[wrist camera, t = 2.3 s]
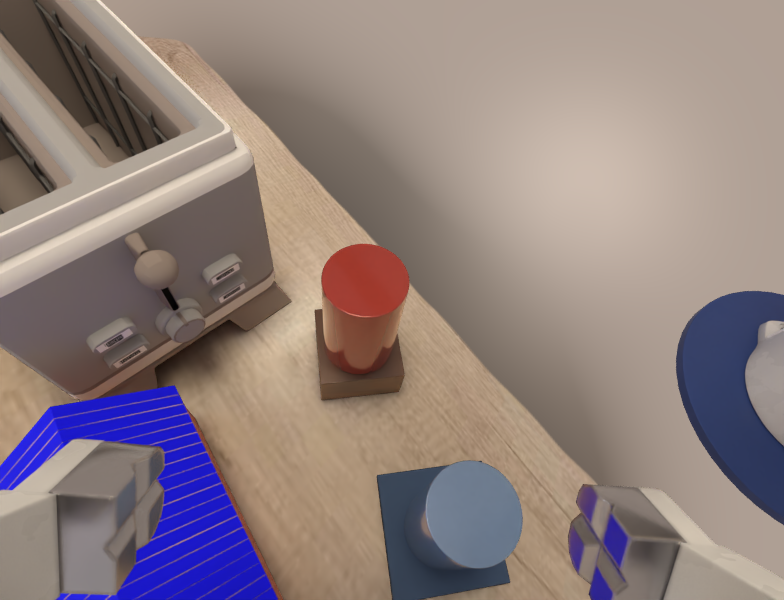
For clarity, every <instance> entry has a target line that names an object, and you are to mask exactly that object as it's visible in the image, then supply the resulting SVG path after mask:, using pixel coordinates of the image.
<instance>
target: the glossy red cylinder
mask: <svg viewBox="0 0 784 600" xmlns="http://www.w3.org/2000/svg"><path fill="white" fill-rule="evenodd" d="M321 283H322V315H323V345H324V350H325V353H326V355H327V357H328V358H329V360H330V361H331V362H332V363H333V364H334V365H335V366H336V367H337V368H339V369H341V370H343V371H345V372H348V373H352V374H365V373H370V372H373V371H375V370H377V369H379V368H380V367H381V366H383V365H384V364H385V363H386V362H387V360H388V359H389V357H390V355H391V353H392V349H393V346H394V342H395V338H396V335H397V331H398V327H399V323H400V320H401V316H402V312H403V309H404V305H405V301H406V298H407V294H408V290H409V276H408V272H407V270H406V267H405V266H404V264H403V263H402V261H401V260H400V259H399V258H398V257H397V256H396V255H395V254H393V253H392V252H390V251H389V250H387V249H385V248H382V247H380V246H376V245H372V244H355V245H351V246H348V247H345V248H343V249H341V250H339V251H337V252H336V253H335V254H333V255H332V256H331V257H330V259H329V260H328V261H327V263H326V264H325V266H324V268H323V272H322V277H321Z"/></svg>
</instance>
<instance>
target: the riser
mask: <svg viewBox="0 0 784 600" xmlns="http://www.w3.org/2000/svg"><path fill="white" fill-rule="evenodd" d="M315 323H316V337H317V350H318V363H319V375H320V388H321V400H327V399H336V398H345V397H354V396H363V395H372V394H382V393H391V392H399V389H400V387H401V384H402V381H403V379H404V376H405V375H404V369H403V363H402V357H401V352H400V346H399V340H398V334H397V335H396V338H395V342H394V346H393V349H392V353H391V355H390V357H389V359H388V360H387V362H386V363H385V364H384V365H383V366H381V367H380V368H379V369H377V370H375V371H373V372H370V373H365V374H352V373H348V372H345V371H343V370H341V369H339V368H337V367H336V366H335V365H334V364H333V363H332V362H331V361H330V360H329V358H328V357H327V355H326V353H325V350H324V345H323V315H322V309H319V310H315Z"/></svg>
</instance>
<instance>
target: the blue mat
mask: <svg viewBox="0 0 784 600" xmlns="http://www.w3.org/2000/svg"><path fill="white" fill-rule="evenodd" d="M478 462H482V461H478ZM448 466H449V465H447V466H440V467H433V468H426V469H419V470H411V471H404V472H397V473H390V474H383V475H377V483H378V490H379V498H380V506H381V514H382V522H383V529H384V537H385V545H386V553H387V561H388V568H389V576H390V584H391V592H392V600H420V599H426V598H431V597H436V596H442V595H447V594H452V593H458V592H463V591H468V590H474V589H479V588H484V587H490V586H495V585H500V584H506V583H510V579H509V575H508V570H507V566H506V562H505V560H504V561H502V562H500V563H499V564H497V565H494V566H492V567H488V568H480V569H464V570H448V571H440V570H435V569H432V568H429V567H427V566H425V565H424V564H422V563H421V562H420V561H419V560H418V559H417V558H416V557H415V556H414V555H413V553H412V552H411V550H410V549H409V547H408V544H407V542H406V539H405V534H404V518H405V513H406V510H407V508H408V506H409V504H410V502H411V501H412V499H413V498H414V497H415V496H416V495H417V494H418V493H419V492H420V491H421V490H422V489H423V488H424V487H425V486H426V485H427V484H428V483H429V482H431V481H432V480H433V479H434V478H435V477H436V476H437V475H438V474H439V473H440V472H441V471H442V470H443V469H445V468H446V467H448Z"/></svg>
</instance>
